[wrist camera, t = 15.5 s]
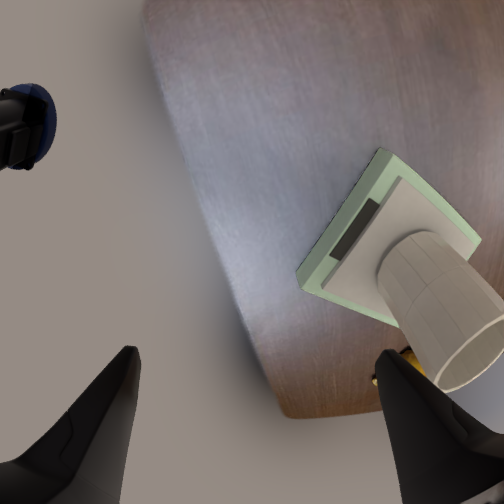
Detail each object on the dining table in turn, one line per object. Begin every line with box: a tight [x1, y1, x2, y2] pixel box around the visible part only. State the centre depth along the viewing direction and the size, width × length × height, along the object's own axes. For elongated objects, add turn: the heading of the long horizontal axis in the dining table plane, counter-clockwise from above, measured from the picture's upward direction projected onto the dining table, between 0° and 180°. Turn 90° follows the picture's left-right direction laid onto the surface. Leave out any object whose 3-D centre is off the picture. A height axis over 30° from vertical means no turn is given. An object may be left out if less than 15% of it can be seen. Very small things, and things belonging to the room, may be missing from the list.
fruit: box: [372, 350, 426, 386], centre depth 31 cm, size 8×8×4 cm
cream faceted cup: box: [377, 231, 504, 393], centre depth 16 cm, size 7×7×10 cm
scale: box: [296, 148, 482, 328], centre depth 22 cm, size 14×12×3 cm
